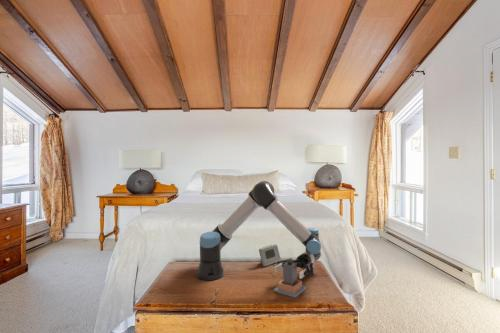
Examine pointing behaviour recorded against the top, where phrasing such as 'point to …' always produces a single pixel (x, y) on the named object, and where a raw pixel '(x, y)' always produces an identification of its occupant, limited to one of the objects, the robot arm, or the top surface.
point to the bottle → (290, 273)
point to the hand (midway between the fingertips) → (287, 272)
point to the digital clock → (269, 255)
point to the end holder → (290, 288)
